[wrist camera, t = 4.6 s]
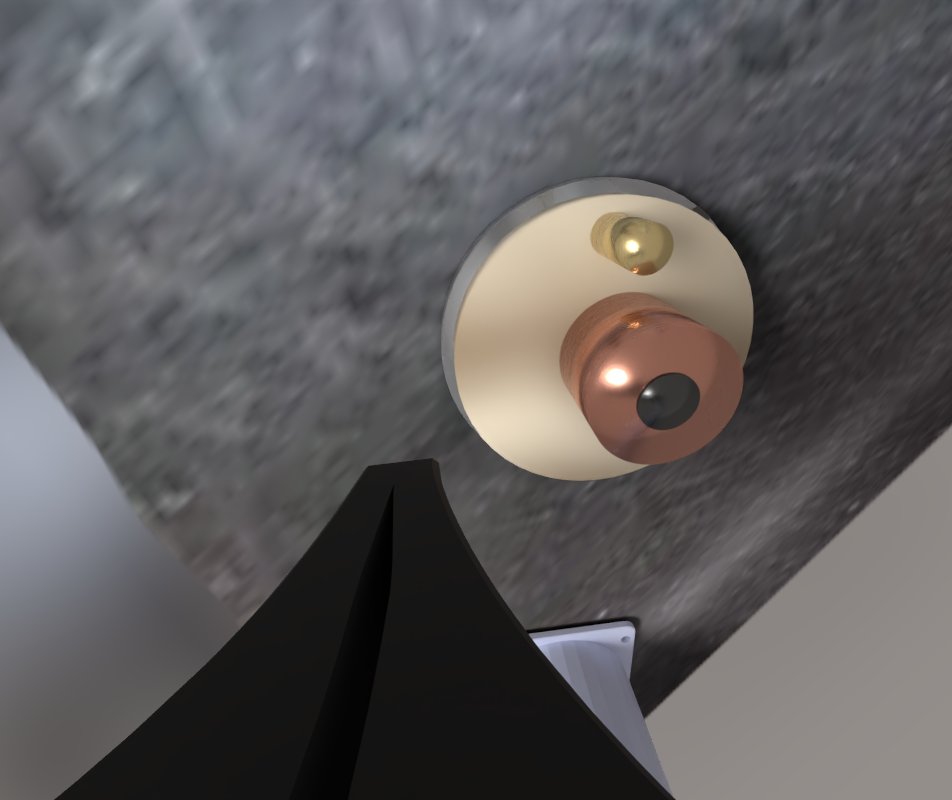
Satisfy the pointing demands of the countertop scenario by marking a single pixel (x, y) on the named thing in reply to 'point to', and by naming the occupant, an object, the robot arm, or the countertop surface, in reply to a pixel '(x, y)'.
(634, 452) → the cover
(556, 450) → the turntable
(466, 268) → the base
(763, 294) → the countertop surface
